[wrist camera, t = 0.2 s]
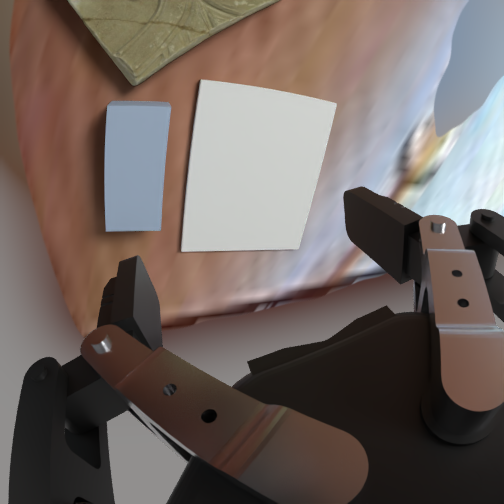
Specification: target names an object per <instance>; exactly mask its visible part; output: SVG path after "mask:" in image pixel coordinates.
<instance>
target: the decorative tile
mask: <svg viewBox="0 0 504 504" xmlns="http://www.w3.org/2000/svg"><path fill="white" fill-rule="evenodd" d="M67 1H68V2H69V3H70V5H71V6H72V7H73V9H74V10H75V11H76V12H77V14H78V15H79V16H80V18H81V19H82V20H83V23H84V24H85V26H86V27H87V28H88V29H89V31H90V32H91V33H92V35H93V36H94V37H95V38H96V40H97V41H98V42H99V44H100V45H101V46H102V48H103V49H104V50H105V51H106V53H107V54H108V55H109V57H110V58H111V59H112V60H113V62H114V63H115V64H116V66H117V67H118V68H119V69H120V71H121V72H122V73H123V74H124V76H125V77H126V79H127V80H128V81H129V82H130V83H131V84H132V85H133V86H135V85H138V84H140V83H142V82H143V81H144V80H146V79H147V78H149V77H150V76H151V75H153V74H154V73H156V72H157V71H158V70H160V69H161V68H163V67H164V66H165V65H167V64H168V63H170V62H171V61H173V60H174V59H176V58H178V57H179V56H181V55H183V54H184V53H186V52H187V51H189V50H190V49H192V48H193V47H195V46H196V45H198V44H199V43H201V42H202V41H204V40H205V39H207V38H209V37H211V36H212V35H214V34H216V33H218V32H220V31H221V30H223V29H225V28H227V27H229V26H231V25H233V24H235V23H236V22H238V21H240V20H242V19H244V18H245V17H247V16H249V15H251V14H253V13H255V12H257V11H259V10H261V9H264V8H266V7H268V6H270V5H272V4H274V3H276V2H278V1H280V0H67Z"/></svg>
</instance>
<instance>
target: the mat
mask: <svg viewBox="0 0 504 504" xmlns="http://www.w3.org/2000/svg"><path fill="white" fill-rule="evenodd" d="M336 106H337V104H336V103H333V102H329V101H325V100H321V99H317V98H312V97H308V96H303V95H298V94H294V93H289V92H284V91H278V90H273V89H267V88H261V87H255V86H249V85H242V84H235V83H227V82H219V81H210V80H200V84H199V91H198V97H197V104H196V111H195V118H194V125H193V133H192V140H191V148H190V157H189V165H188V174H187V184H186V194H185V204H184V216H183V227H182V240H181V251H182V252H188V251H235V250H284V249H299V246H300V242H301V239H302V235H303V232H304V228H305V225H306V221H307V217H308V214H309V210H310V207H311V203H312V199H313V196H314V192H315V188H316V185H317V181H318V177H319V173H320V169H321V166H322V162H323V158H324V154H325V150H326V146H327V142H328V138H329V134H330V130H331V126H332V122H333V118H334V114H335V110H336Z"/></svg>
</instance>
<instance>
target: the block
mask: <svg viewBox="0 0 504 504" xmlns="http://www.w3.org/2000/svg"><path fill="white" fill-rule="evenodd" d="M170 113H171V106H170V104H169V102H154V101H111V102H110V103H109V105H108V106H107V117H106V135H105V223H106V231H161V217H162V199H163V184H164V172H165V160H166V149H167V139H168V130H169V121H170Z"/></svg>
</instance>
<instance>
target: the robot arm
mask: <svg viewBox="0 0 504 504" xmlns="http://www.w3.org/2000/svg"><path fill="white" fill-rule="evenodd" d="M343 198H344V211H345V224H346V231H347V234H348V237H349V238H350V240H351V241H352V242H353V243H354V244H355V245H356V246H357V247H359V248H360V249H361V250H362V251H363V252H364V253H366V254H367V255H368V256H369V257H370V258H371V259H373V260H374V261H375V262H376V263H377V264H378V265H379V266H381V267H382V268H383V269H384V270H385V271H386V272H387V273H388V274H390V275H391V276H392V277H393V278H394V279H395V280H396V281H397V282H398V283H400V284H403V283H405V282H407V281H409V280H411V279H413V280H414V285H413V297H414V299H413V300H414V312H404V313H397V314H394V313H393V312H392V311H391V310H390V309H389V308H388V307H387V306H384V307H382V308H380V309H378V310H376V311H374V312H371V313H369V314H367V315H365V316H363V317H360V318H358V319H356V320H354V321H353V322H352V323H350V324H349V325H348V326H346V327H345V328H344V329H342V330H341V331H339V332H338V333H337V334H335V335H334V336H332V337H331V338H329V339H328V340H325V341H322V342H317V343H311V344H306V345H301V346H295V347H289V348H284V349H281V350H278V351H276V352H273V353H270V354H267V355H265V356H262V357H259V358H256V359H253V360H250V361H248V362H247V363H248V365H249V368H250V371H251V373H250V374H248V375H246V376H245V377H243V378H242V379H241V380H239V381H238V382H236V383H235V384H234V385H233V386H232V387H231V386H229V385H227V384H225V383H223V382H221V381H219V380H218V379H216V378H214V377H212V376H210V375H209V374H207V373H205V372H203V371H202V370H199V369H198V368H196V367H195V366H193V365H191V364H190V363H188V362H186V361H184V360H183V359H181V358H180V357H178V356H176V355H175V354H173V353H171V352H170V351H168V350H166V349H165V348H163V345H162V332H161V319H160V305H159V300H158V297H157V294H156V291H155V289H154V286H153V284H152V282H151V280H150V278H149V275H148V273H147V271H146V268H145V266H144V264H143V262H142V260H141V258H140V256H139V255H137V256H135V257H132V258H129V259H126V260H123V261H120V262H119V267H118V272H117V277H114V278H111V279H110V280H109V282H108V283H107V285H106V286H105V288H104V291H103V296H102V298H103V299H102V301H101V307H100V312H99V317H98V323H97V328H96V329H95V330H93V331H92V332H90V333H89V334H88V335H87V336H86V337H85V339H84V340H83V342H82V344H81V348H80V352H81V355H80V356H79V357H77V358H75V359H74V360H72V361H70V362H68V363H66V364H65V365H63V366H61V365H60V364H59V363H58V362H57V361H56V359H54V358H52V357H45V358H42V359H40V360H38V361H37V362H35V363H34V364H33V365H32V366H31V367H30V368H29V369H28V371H27V373H26V374H25V376H24V380H23V385H22V389H21V394H20V400H19V405H18V410H17V416H16V423H15V429H14V436H13V444H12V453H11V463H10V477H9V503H8V504H115V501H114V494H113V487H112V479H111V470H110V461H109V450H108V437H107V421H109V420H111V419H112V418H114V417H116V416H118V415H120V414H122V413H123V412H125V411H128V412H129V413H130V414H131V415H132V416H133V417H134V418H135V419H137V420H138V421H139V422H140V423H141V424H142V425H143V426H144V427H145V428H146V429H148V430H149V431H150V432H151V433H152V434H153V435H155V436H156V437H157V438H158V439H159V440H160V441H162V442H163V443H164V444H165V445H166V446H167V447H168V448H170V449H171V450H172V451H173V452H174V453H175V454H176V455H178V456H179V457H180V458H181V459H183V460H184V461H185V462H186V463H188V464H187V466H186V468H185V470H184V472H183V474H182V475H181V477H180V479H179V481H178V483H177V485H176V487H175V488H174V490H173V492H172V494H171V496H170V498H169V500H168V502H167V503H166V504H504V331H503V330H502V329H500V328H498V327H497V325H496V322H495V318H494V314H493V312H494V313H495V314H496V315H497V316H498V317H499V318H500V319H501V320H502V321H503V322H504V276H503V275H502V274H500V273H499V272H498V271H497V270H495V266H496V262H497V257H498V254H499V253H500V254H502V255H503V256H504V217H503V216H501V215H500V214H498V213H496V212H494V211H491V210H486V209H478V210H475V211H473V212H472V213H471V218H470V224H467V225H460V226H457V224H456V223H455V222H454V221H453V220H451V219H450V218H447V217H444V216H440V215H429V216H425V217H421V216H420V215H418V214H416V213H415V212H413V211H411V210H409V209H408V208H406V207H404V206H403V205H401V204H399V203H397V202H395V201H394V200H392V199H390V198H388V197H384V196H381V195H378V194H376V193H374V192H372V191H371V190H369V189H367V188H365V187H358V188H354V189H351V190H347V191H345V192H344V197H343Z"/></svg>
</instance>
